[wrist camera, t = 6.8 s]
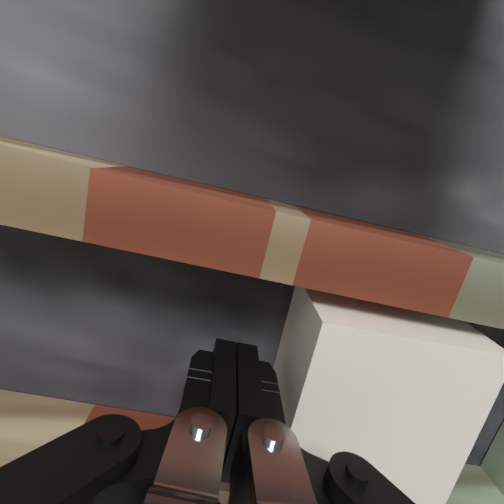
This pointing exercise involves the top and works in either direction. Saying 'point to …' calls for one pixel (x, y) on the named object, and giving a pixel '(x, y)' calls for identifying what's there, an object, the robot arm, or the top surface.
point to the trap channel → (236, 267)
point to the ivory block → (387, 387)
